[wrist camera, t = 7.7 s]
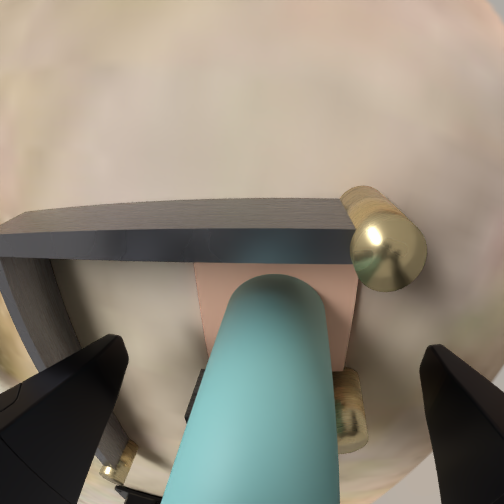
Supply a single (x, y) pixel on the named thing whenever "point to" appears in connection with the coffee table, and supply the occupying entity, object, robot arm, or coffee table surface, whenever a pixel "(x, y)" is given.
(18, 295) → the metal rail track
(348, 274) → the pad
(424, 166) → the coffee table surface
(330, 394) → the peg
